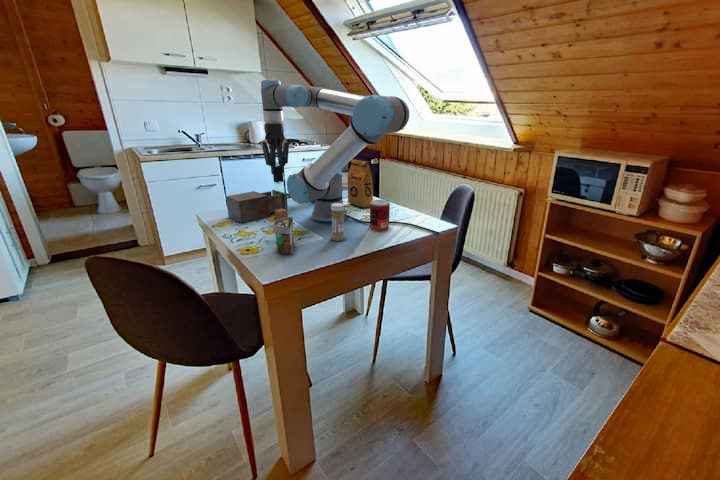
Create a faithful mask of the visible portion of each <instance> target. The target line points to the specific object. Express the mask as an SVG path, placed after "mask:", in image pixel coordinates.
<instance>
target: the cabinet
mask: <svg viewBox="0 0 720 480" xmlns="http://www.w3.org/2000/svg"><path fill="white" fill-rule="evenodd" d="M261 193H262V192H258V191H255V190H253V191H247V192H241V193H236V194H231V195H230V194H229V195H226V196H225V199H226V207H227V214H228V218H230V219H231V220H234V221H236V222H238V223H240V224H245V223H249V222H254V221H257V220H260V219H265V218H270V217H271V215H270V214H271V213H269V203H268V195H264V194H261Z"/></svg>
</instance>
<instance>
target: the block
mask: <svg viewBox="0 0 720 480" xmlns="http://www.w3.org/2000/svg"><path fill="white" fill-rule="evenodd" d="M274 211H275V212H274V219H275V220H278V219H280V218H285V217H289V216H288V215H289V213H288V210H285V209H283V208H282V209H277V210H274Z"/></svg>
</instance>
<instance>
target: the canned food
mask: <svg viewBox="0 0 720 480" xmlns="http://www.w3.org/2000/svg"><path fill="white" fill-rule="evenodd" d="M390 209H391V202H390V201H389V200H386V199H373V201H371V202H370V206H369V221H370V223H369V229H370V230H371V231H374V232H386V231H388V230H389V228H390V223H389V221H390V212H391V210H390Z"/></svg>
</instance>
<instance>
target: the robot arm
mask: <svg viewBox="0 0 720 480" xmlns="http://www.w3.org/2000/svg"><path fill="white" fill-rule="evenodd" d="M260 95H261V104H262V114H263V122H264V124H263V127H264V133H265V136H264V139H262V140H260V141H259V144H260V146H261V148H262V152H263V157H264V161H265V165H266V166H269V167H270V173H271V175H272V178H273V183H277V184H279V183H284V174H285V166H286V165H287V164H288V163H289V150H290V144H291V139H288V138H286V137H285V134H284V133H285V124H284V123H283V122H284V111H283V109H284V108H316V109H321V110H325V111H330V112H334V113H338V114H344V115H348V116H351V117H350V118H349V125H348V127H347V128H346V129H345V130H344V131H343V132H342V133H341V134H340V135H339V137H338V138H336V140H335V141H333V142H332V143H331V145H330V146H329V147H328V148H327V149H326V150H325V151H323V153H322V154H321V155H320V156H319V157H318V158H317V159H316V160H315V161H314V162H313V163H312V162H311V163H307V164H306V165H304V167H302V169H301V170H300V171H299V172H297V173H295V172H294V173H292V174H291V175H289V176H288V178H287V179H286V190H287V193H288V194H289V195H290V197H291V198H290V199H292V201H293V202H295V203H297V204H307V203H309V202H311V201H312V200H316V202H315V203H314V205H313V210H312V212H311V219H312V220H313V221H315V222H318V223H323V224H324V223H325V224H330V223H331V224H332V210H331V205H332V204H334V203H342V204H343V205H344V210H343V219H344V221H345V220H346V219H347V218H348V219H351V220H352V221H355V222H358V223H361V224H362V223H363V224H370V220H369V221H368V220H362V219H357V218H354V217H352V216H350V215H348V213H347V211H346V207H345V204H344V201H343V168H344V167H346V166H347V164H349V163H351V160H352V159H353V160H354V158H355V157H357V155H359V153H361V151H362V150H363V149H365V148H366V147H367V146H374V145H376V144H377V143H378V142H379V141H380V140H381V139H382V138H383V137H384V136H386V135H387V134H394V133H398V132H400V131H402V130H404V128H405V127H406V126H407V124H408V122H409V121H410V109H409V105H408V104H407V102H406V101H405V100H404V99H403V98H401V97H399V96H396V95H395V96H394V95H380V94H370V95H367V96H365V95H360V94H355V93H351V92H350V93H349V92H346V91H345V92H344V91H340V90H334V89H329V88H324V87H323V86H316V85H315V86H310V85H309V86H308V85H301V84H284V85H282V82H281V81H280V80H279V79H261V82H260ZM276 154H277V155H276ZM276 160H277V161H276ZM277 162H278V165H277ZM389 224H398V225H405V226H411V227H415V228H418V229H421V230H425V231H426V232H430V233H433V234H437V235H439V234H440V232H439V231H437V230H434V229H430V228H428V227H425V226H424V227H423V226H421V225H417V224H414V223H409V222H405V221H390V220H389Z"/></svg>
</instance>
